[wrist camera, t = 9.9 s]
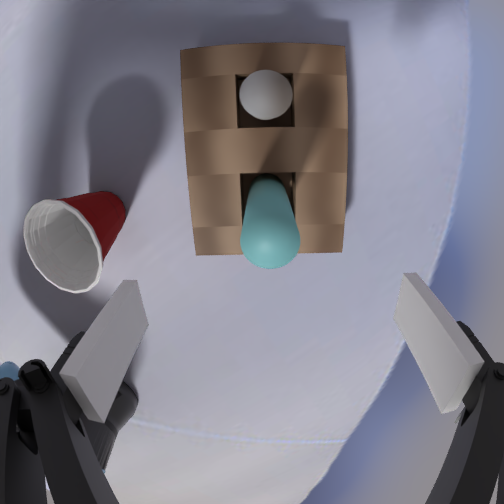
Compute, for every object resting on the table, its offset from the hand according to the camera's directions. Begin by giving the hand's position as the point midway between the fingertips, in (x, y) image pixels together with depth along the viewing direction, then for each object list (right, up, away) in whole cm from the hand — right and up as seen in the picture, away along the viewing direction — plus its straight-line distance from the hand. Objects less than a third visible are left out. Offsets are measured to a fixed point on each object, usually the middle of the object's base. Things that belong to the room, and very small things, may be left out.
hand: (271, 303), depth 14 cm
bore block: (+1, +14, +18) cm, 23 cm away
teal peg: (+1, +9, +19) cm, 22 cm away
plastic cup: (-20, +8, +22) cm, 31 cm away
